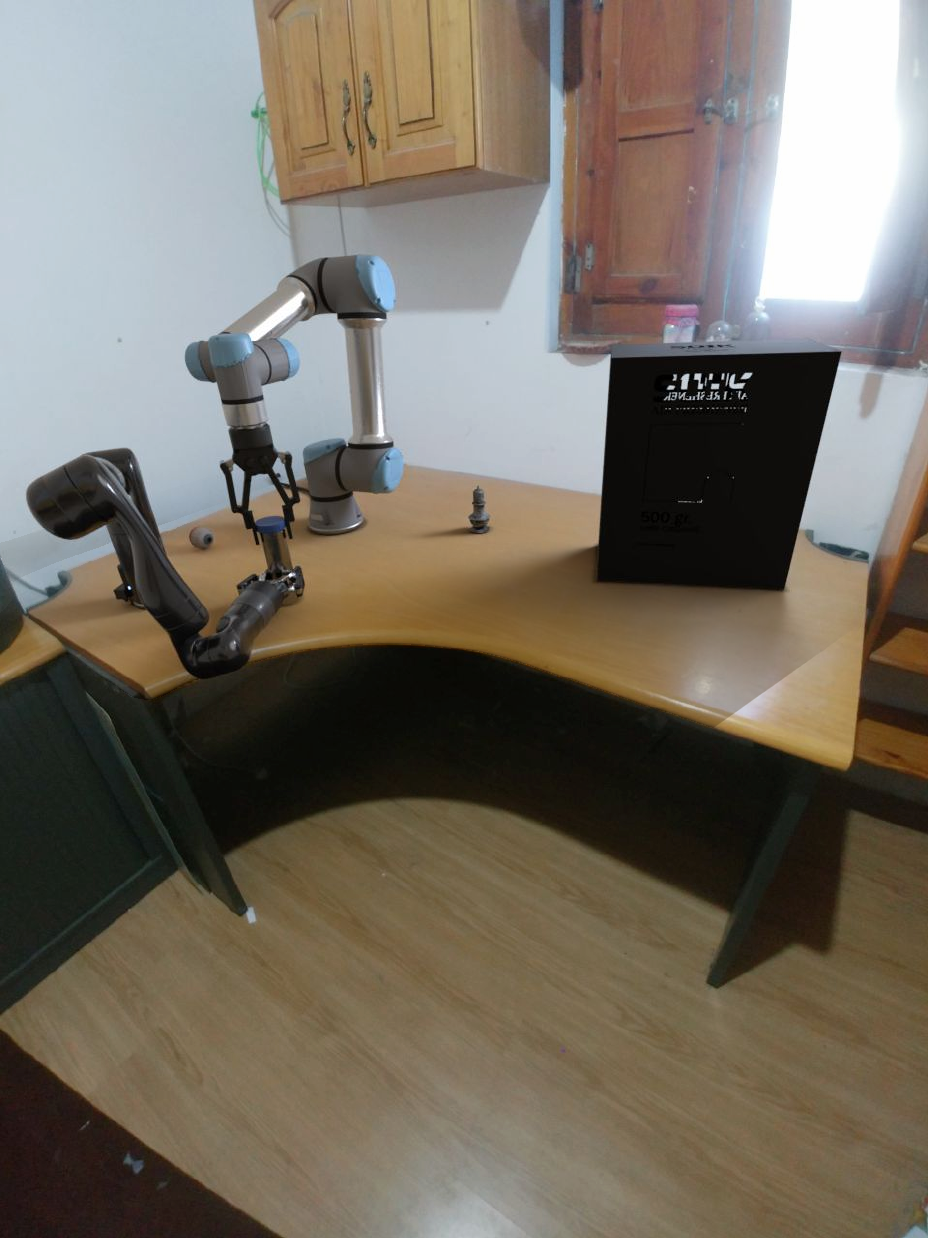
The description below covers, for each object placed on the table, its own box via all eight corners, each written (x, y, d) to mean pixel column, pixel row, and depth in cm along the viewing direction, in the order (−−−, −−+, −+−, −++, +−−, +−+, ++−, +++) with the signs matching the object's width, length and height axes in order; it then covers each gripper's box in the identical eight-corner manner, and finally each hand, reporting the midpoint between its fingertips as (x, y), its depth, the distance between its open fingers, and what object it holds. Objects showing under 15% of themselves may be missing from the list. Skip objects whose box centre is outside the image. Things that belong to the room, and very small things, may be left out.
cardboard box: (763, 549, 141) (808, 338, 118) (784, 589, 124) (841, 351, 101) (598, 544, 148) (611, 344, 126) (596, 581, 131) (611, 357, 109)
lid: (251, 533, 121) (249, 526, 120) (263, 522, 126) (261, 515, 125) (280, 533, 120) (278, 526, 119) (291, 522, 125) (289, 515, 124)
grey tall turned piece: (488, 533, 158) (487, 489, 152) (466, 533, 159) (464, 488, 153) (492, 525, 163) (491, 481, 157) (471, 524, 164) (469, 481, 158)
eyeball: (203, 554, 156) (196, 532, 153) (187, 550, 159) (181, 528, 156) (222, 546, 160) (216, 524, 157) (206, 542, 163) (200, 521, 160)
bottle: (271, 602, 131) (252, 525, 122) (288, 592, 134) (271, 517, 125) (286, 607, 128) (268, 529, 119) (304, 597, 132) (288, 521, 123)
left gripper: (286, 590, 113) (315, 553, 128) (214, 590, 115) (251, 554, 130) (294, 625, 117) (321, 585, 132) (224, 624, 119) (258, 585, 133)
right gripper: (297, 415, 118) (317, 525, 130) (195, 427, 113) (225, 541, 125) (302, 422, 112) (322, 537, 124) (194, 435, 107) (226, 555, 119)
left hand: (286, 569), depth 131 cm, fingers closed on bottle, 5 cm apart
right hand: (274, 539), depth 124 cm, fingers closed on lid, 6 cm apart
